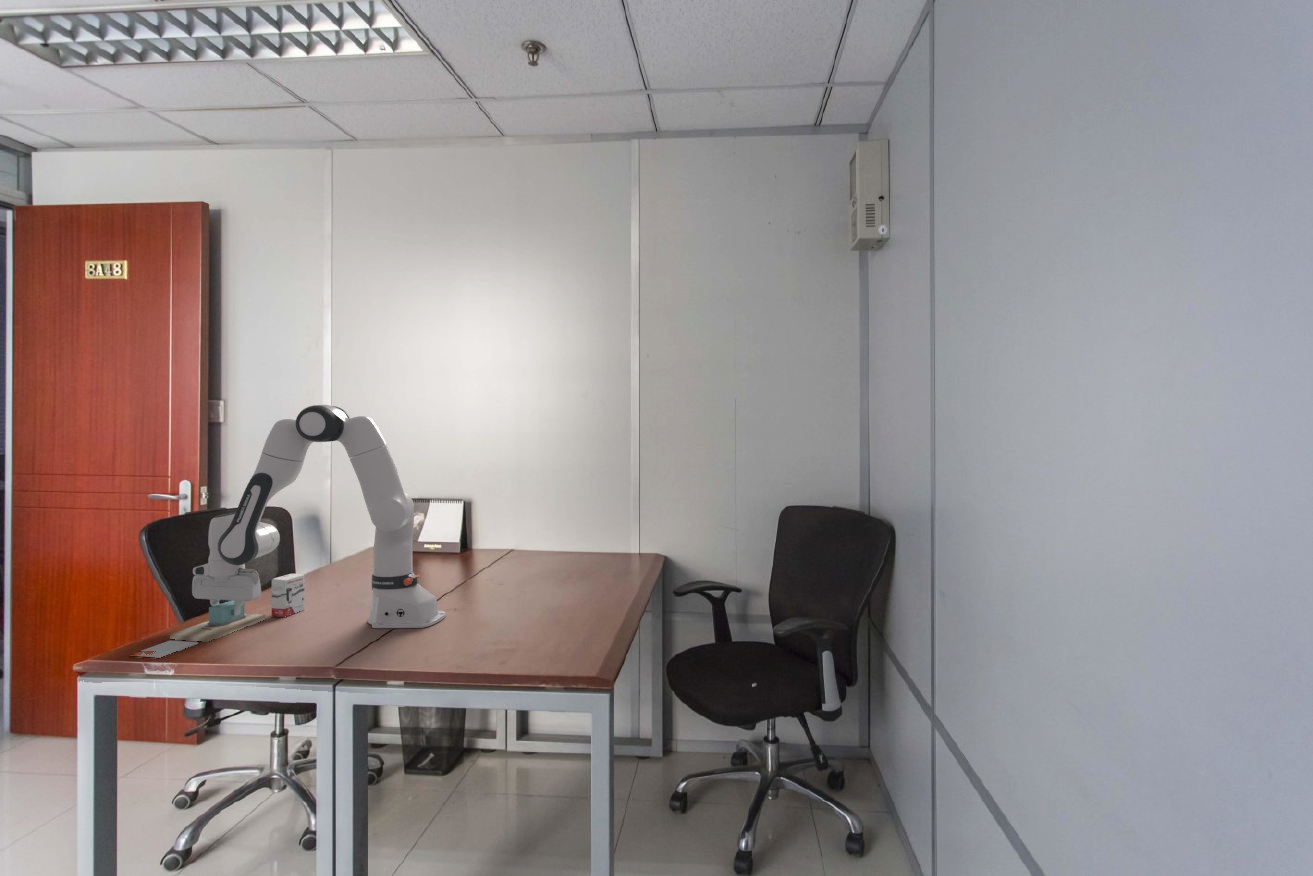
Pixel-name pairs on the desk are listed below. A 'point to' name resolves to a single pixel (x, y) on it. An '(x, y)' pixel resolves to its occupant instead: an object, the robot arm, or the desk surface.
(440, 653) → the desk surface
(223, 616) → the sanding block
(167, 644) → the rest mat
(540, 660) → the desk surface
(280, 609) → the ink box
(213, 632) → the birch board
